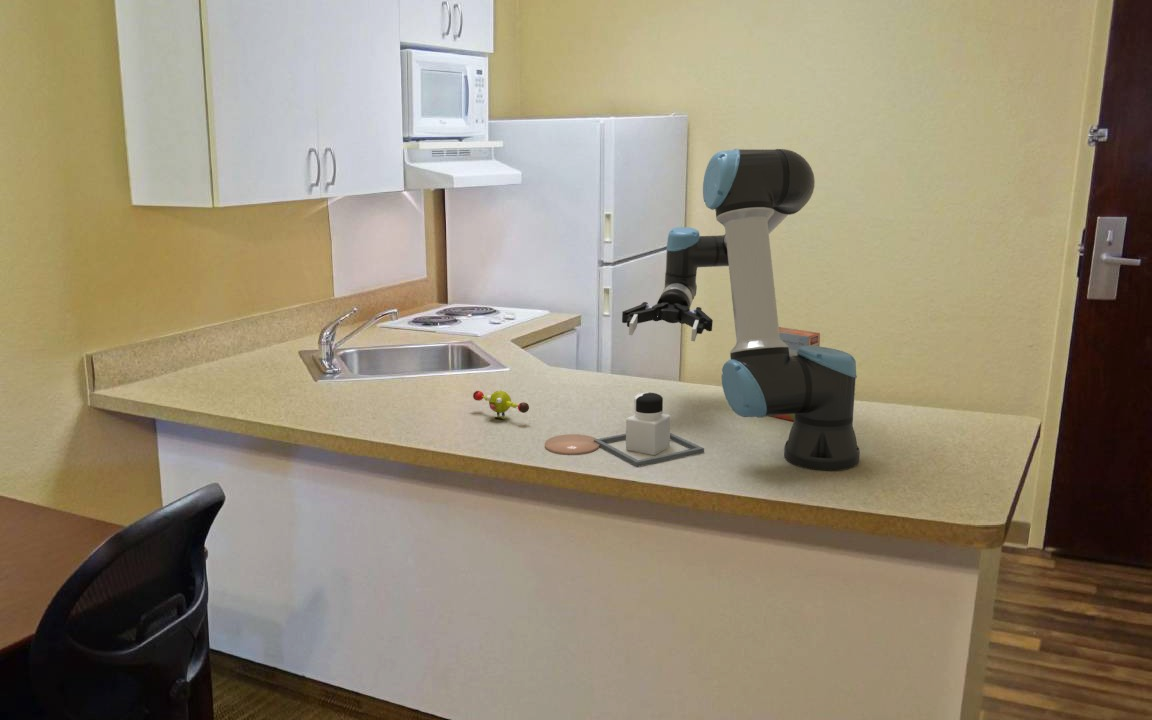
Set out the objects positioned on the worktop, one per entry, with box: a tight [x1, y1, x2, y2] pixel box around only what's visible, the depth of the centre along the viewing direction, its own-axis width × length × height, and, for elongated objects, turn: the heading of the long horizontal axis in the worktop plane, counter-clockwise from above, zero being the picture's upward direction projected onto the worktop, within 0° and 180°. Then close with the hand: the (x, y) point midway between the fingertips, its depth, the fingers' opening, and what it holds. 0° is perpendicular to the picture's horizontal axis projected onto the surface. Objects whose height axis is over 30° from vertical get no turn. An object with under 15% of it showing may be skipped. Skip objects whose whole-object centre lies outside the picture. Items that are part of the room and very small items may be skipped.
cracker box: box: [772, 326, 821, 422], centre depth 226 cm, size 14×6×21 cm, turn 47°
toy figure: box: [472, 390, 530, 421], centre depth 227 cm, size 18×6×7 cm, turn 48°
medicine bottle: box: [625, 392, 671, 456], centre depth 205 cm, size 7×7×12 cm
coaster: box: [544, 433, 600, 456], centre depth 208 cm, size 12×12×1 cm
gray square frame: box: [594, 432, 705, 468], centre depth 206 cm, size 17×17×1 cm
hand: (661, 332), depth 207 cm, fingers open, 13 cm apart
